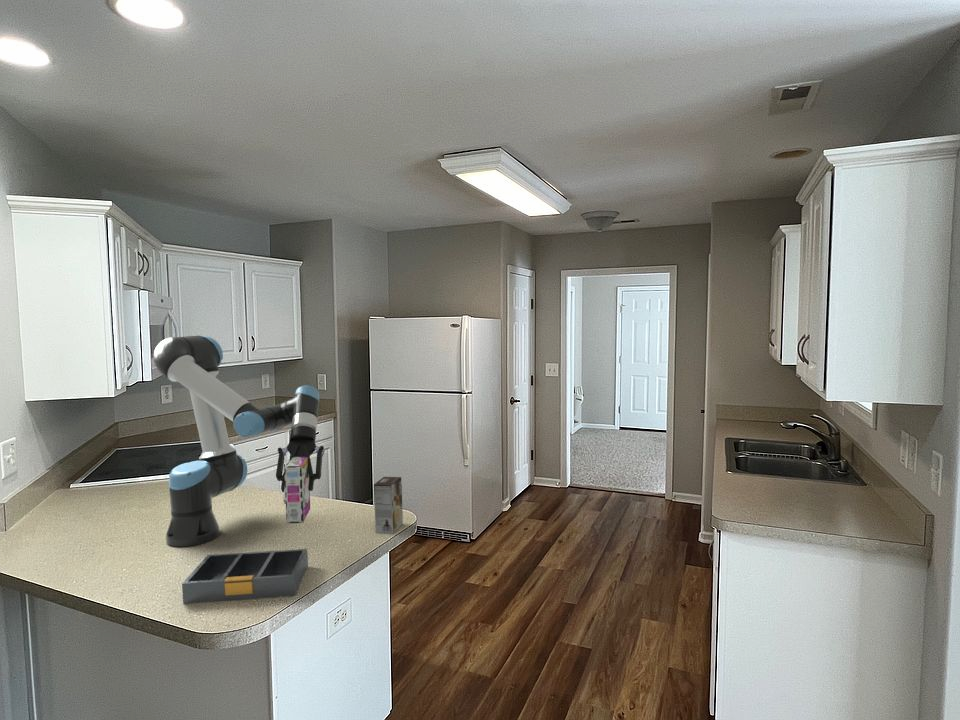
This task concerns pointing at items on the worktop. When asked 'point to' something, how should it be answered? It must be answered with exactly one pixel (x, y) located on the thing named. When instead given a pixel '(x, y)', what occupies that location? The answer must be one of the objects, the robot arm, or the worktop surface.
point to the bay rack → (246, 576)
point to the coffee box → (388, 504)
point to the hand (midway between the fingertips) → (295, 501)
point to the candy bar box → (296, 489)
